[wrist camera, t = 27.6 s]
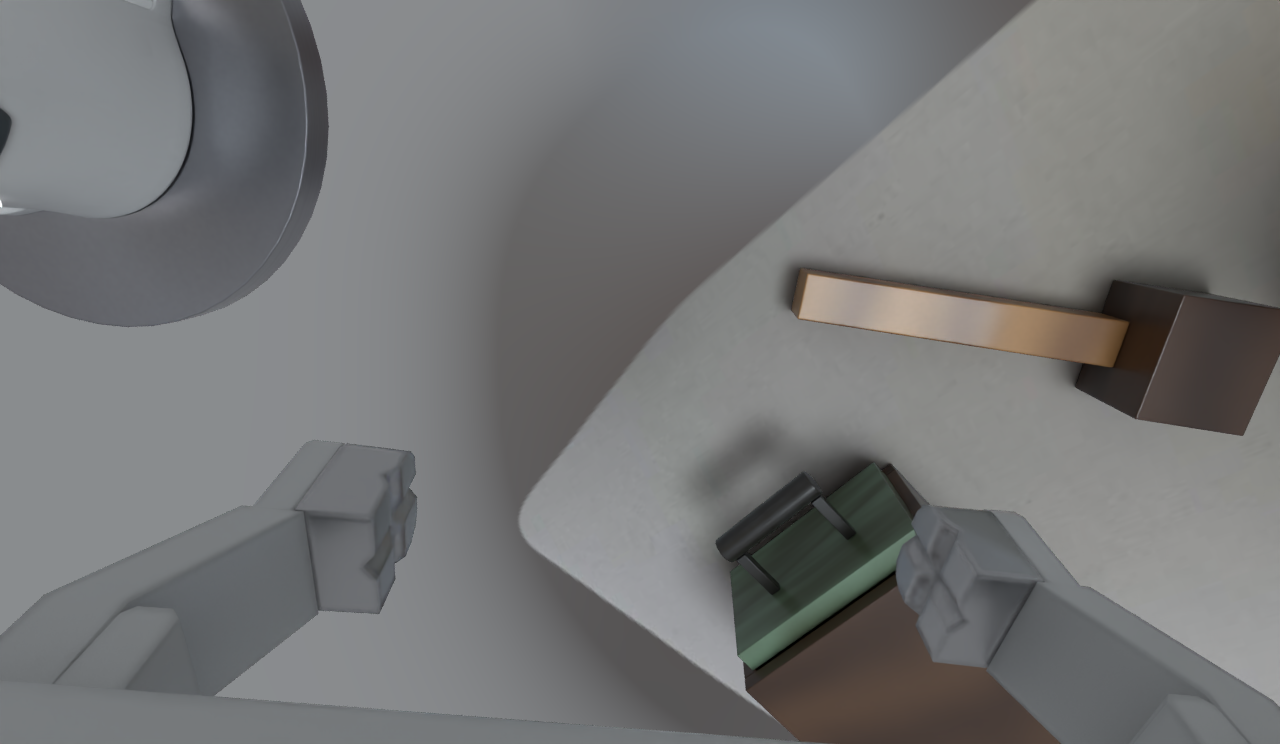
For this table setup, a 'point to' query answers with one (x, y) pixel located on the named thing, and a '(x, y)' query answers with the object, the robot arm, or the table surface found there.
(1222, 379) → the mallet
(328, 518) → the robot arm
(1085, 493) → the table surface
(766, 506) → the drawer
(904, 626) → the cabinet
